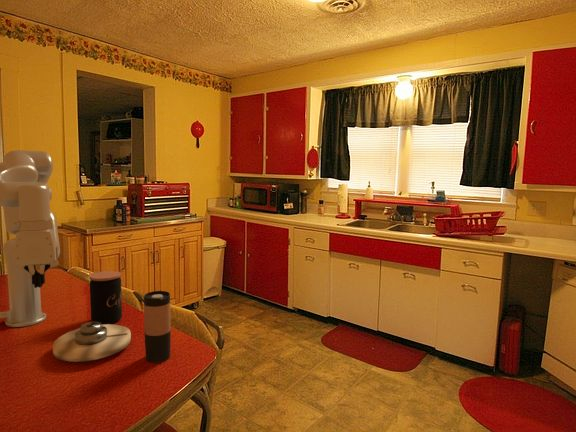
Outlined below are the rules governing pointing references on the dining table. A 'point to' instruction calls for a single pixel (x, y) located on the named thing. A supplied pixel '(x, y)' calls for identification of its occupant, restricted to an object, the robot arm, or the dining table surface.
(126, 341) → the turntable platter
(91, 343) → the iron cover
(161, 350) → the travel mug
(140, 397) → the dining table surface
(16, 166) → the robot arm
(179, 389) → the dining table surface
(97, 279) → the coffee jar
